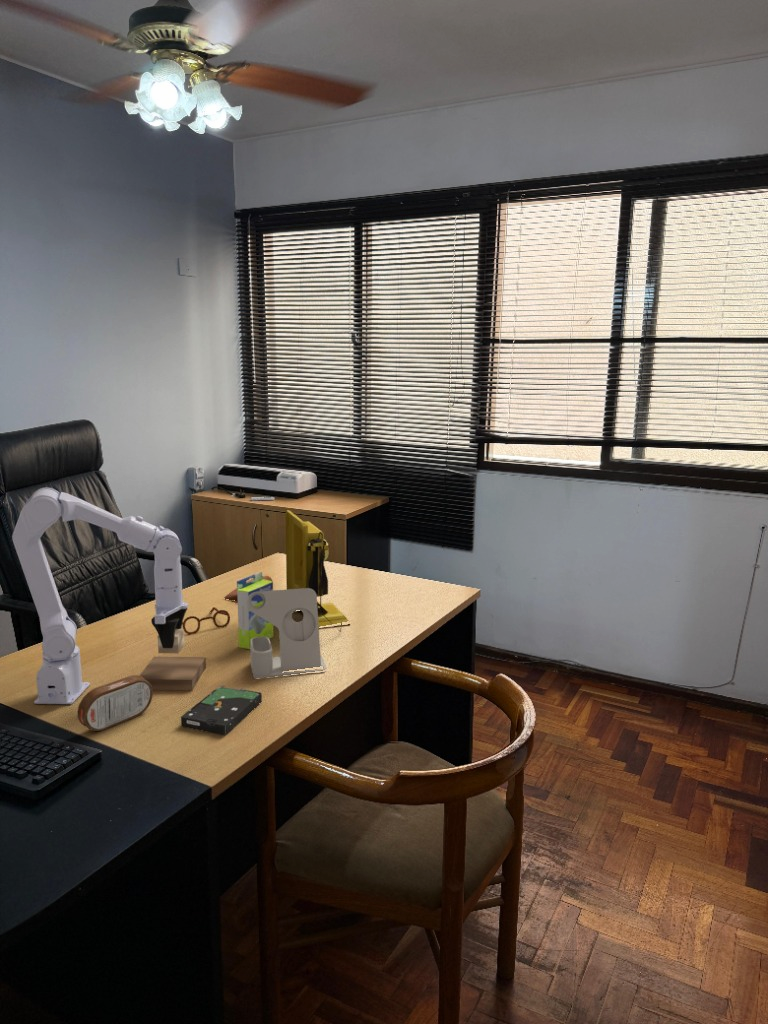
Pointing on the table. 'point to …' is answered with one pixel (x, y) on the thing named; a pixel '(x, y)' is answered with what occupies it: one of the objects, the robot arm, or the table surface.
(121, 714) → the tin
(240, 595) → the box
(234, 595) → the sunglasses case
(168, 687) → the plinth
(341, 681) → the table surface
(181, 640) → the block
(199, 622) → the glasses
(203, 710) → the disk drive
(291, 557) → the yellow computer monitor
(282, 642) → the phone holder
